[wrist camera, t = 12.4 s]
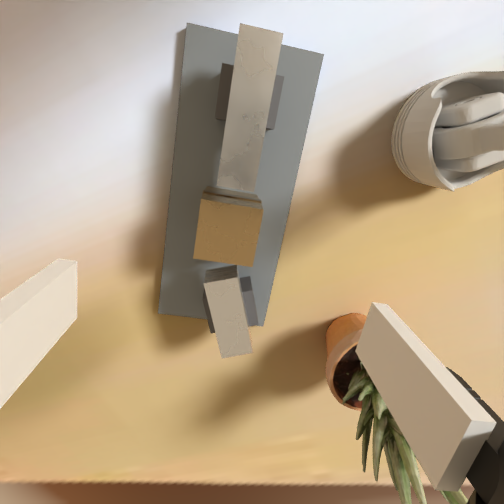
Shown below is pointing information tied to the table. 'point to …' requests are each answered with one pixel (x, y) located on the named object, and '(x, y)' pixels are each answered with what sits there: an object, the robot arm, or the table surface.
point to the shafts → (242, 171)
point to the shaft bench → (208, 160)
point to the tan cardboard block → (228, 226)
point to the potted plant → (372, 410)
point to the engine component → (452, 130)
